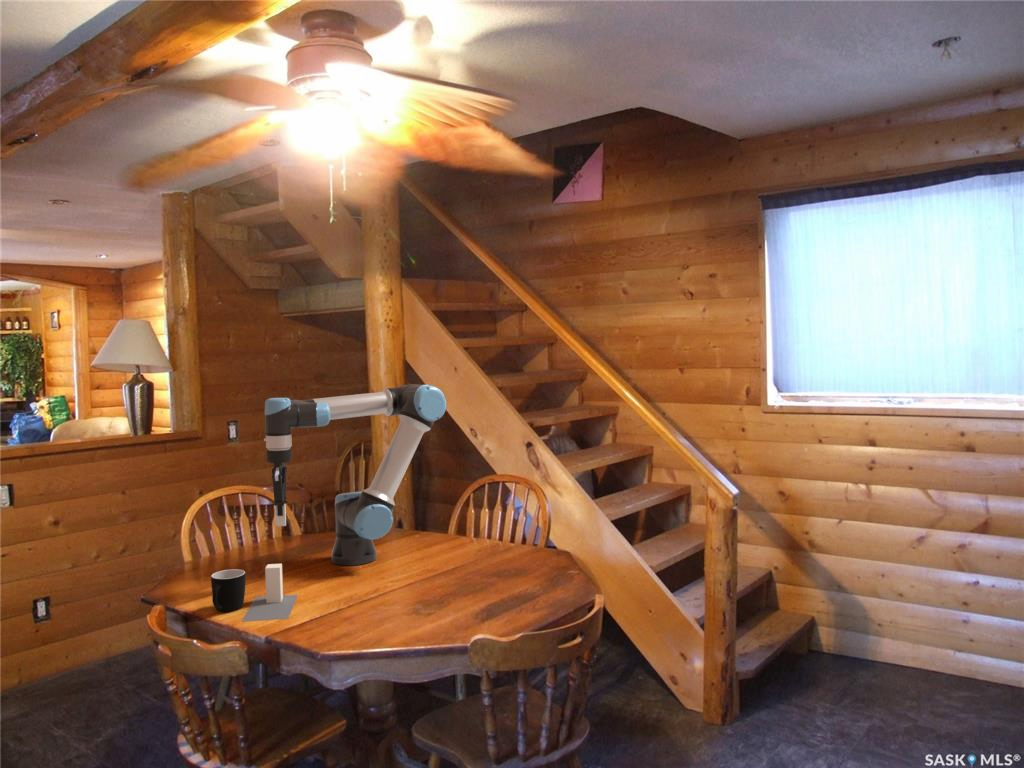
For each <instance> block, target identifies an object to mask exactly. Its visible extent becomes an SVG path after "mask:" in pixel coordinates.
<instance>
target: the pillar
mask: <svg viewBox="0 0 1024 768" xmlns="http://www.w3.org/2000/svg"><path fill="white" fill-rule="evenodd" d="M264 572H265V573H264V576H265V597H266V603H276V602H281V601H282V599H283V595H284V591H283V589H284V587H283V585H284V583H283V563H270V564H269V563H268V564H267V565H266V566H265V569H264Z"/></svg>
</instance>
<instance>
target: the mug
mask: <svg viewBox="0 0 1024 768" xmlns="http://www.w3.org/2000/svg"><path fill="white" fill-rule="evenodd" d="M210 581H211V582H210V584H211V594H212V595H211V596H212V597H211V598H212V599H211V600H212V602H211V603H212V604H213V606H214V607H215V610H216V611H217V612H218V613H232V612H233V613H234V612H237V611H239V610H241V609H242V608H243V606H244V601H245V594H246V571H245V570H243V569H239V568H238V569H237V568H235V569H224V570H220V571H216V572H214V573H212V574H211V575H210Z"/></svg>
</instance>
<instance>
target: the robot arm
mask: <svg viewBox="0 0 1024 768" xmlns="http://www.w3.org/2000/svg"><path fill="white" fill-rule="evenodd" d="M446 409H447V400H446V397H445V395H444V392H442V390H441V389H439V388H438V387H436V386H434V385H430V384H417V383H410V384H404V385H400V386H395V387H387V388H384V389H382V390H381V391H378V392H370V393H369V392H368V393H367V392H366V393H360V394H359V393H356V394H348V395H339V396H329V397H319V398H310V399H308V398H307V399H302V400H301V399H299V400H298V399H292V400H291V399H290V397H270V398H268V399H266V400H265V402H264V413H263V414H264V426H265V438H263V441H264V442H266V443H265V447H266V449H267V450H266V451H265V459H266V462H267V463H269V464H273V467H272V468H271V474H272V475H271V478H272V487H273V503H272V506H275V527H286V526H287V518H286V517H287V513H286V512H287V509H286V508H287V507H286V506H287V504H289V503H288V502H289V500H287V473H288V467H287V466H286V464H285V463H291V462H292V461H293V450H292V449H291V447H293V444H292V443H293V442H292V441H293V440H292V437H293V436H292V429H298V428H315V427H316V428H319V427H325V426H327V425H329V423H330V422H331V420H340V419H341V420H342V419H350V418H351V419H352V418H358V417H359V418H360V417H366V416H368V417H369V416H376V415H385V416H386V417H391V416H392V417H393V416H398V417H399V418H398V419H399V421H400V423H399V425H398V426H397V429H396V431H395V432H394V435H393V437H392V439H391V442H390V443H389V445H388V448H387V450H386V452H385V454H384V456H383V458H382V460H381V462H380V464H379V466H378V469H377V470H376V473H375V475H374V477H373V479H372V481H371V484H370V486H369V487H368V488H364V489H363V490H362V491H353V492H352V491H351V492H344V493H339V494H337V495H336V496H335V498H334V500H335V501H334V509H335V510H334V514H335V515H334V517H335V541H334V544H333V548H332V551H331V554H330V556H331V557H330V558H331V560H330V561H331V562H332V563H333V564H335V565H339V566H357V565H358V566H359V565H360V566H361V565H365V564H369V563H372V562H374V561H376V560H377V558H378V557H377V549H376V546H375V544H374V540H378V539H381V538H383V537H384V536H385V535H387V534H388V533H389V532H390V530H391V528H392V526H393V524H394V523H393V522H394V517H393V511H394V508H395V506H396V503H395V500H394V497H395V496H396V494H397V491H398V489H399V487H400V486H401V483H402V480H403V478H404V476H405V474H406V471H407V469H408V468H409V465H410V463H411V461H412V459H413V457H414V455H415V453H416V451H417V448H418V446H419V444H420V442H421V440H422V437H423V435H424V434H425V433H426V432H429V431H431V430H432V427H433V426H434V423H435V421H437V420H440V419H441V418H442V417H443V416H444V414H445V412H446Z"/></svg>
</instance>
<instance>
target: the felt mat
mask: <svg viewBox="0 0 1024 768" xmlns="http://www.w3.org/2000/svg"><path fill="white" fill-rule="evenodd" d="M298 596H299V594H289V595H287V594H285V595H284V594H283V599H282V601H281V602H276V603H266V596H256V597H254V600H253V601H252V603H251V604H250V606H249V608H248V610H247V612H246V613H245V615H244V616H243V619H242V620H241V622H243V623H244V622H257V621H272V620H273V621H274V620H288V619H289V618H290V615H291V614H292V610H293V609H294V606H295V603H296V601H297V599H298Z"/></svg>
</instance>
